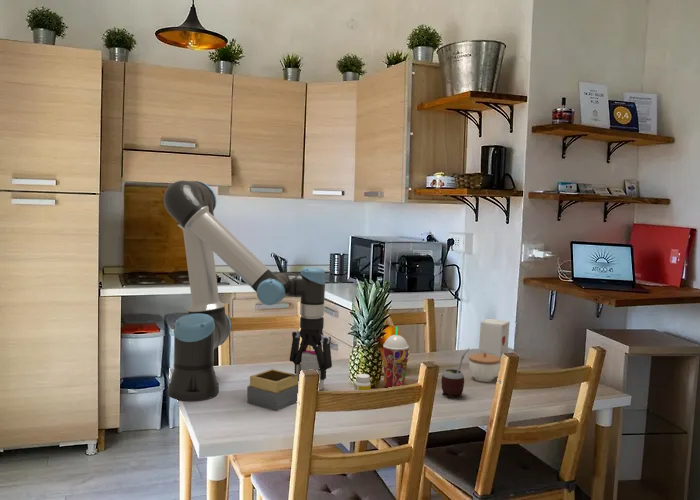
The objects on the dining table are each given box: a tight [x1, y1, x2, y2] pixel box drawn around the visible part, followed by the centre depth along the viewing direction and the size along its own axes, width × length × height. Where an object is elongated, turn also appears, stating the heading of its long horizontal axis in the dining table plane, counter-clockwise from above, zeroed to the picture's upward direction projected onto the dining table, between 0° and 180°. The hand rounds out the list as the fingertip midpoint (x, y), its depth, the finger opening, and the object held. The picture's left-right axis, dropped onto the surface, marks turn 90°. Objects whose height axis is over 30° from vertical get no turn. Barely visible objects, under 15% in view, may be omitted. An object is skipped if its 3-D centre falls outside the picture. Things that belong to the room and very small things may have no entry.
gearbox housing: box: [246, 368, 298, 412], centre depth 186 cm, size 11×11×8 cm
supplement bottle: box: [354, 373, 372, 391], centre depth 189 cm, size 5×5×8 cm
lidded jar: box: [468, 352, 501, 383], centre depth 218 cm, size 11×11×9 cm
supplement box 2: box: [478, 318, 510, 359], centre depth 246 cm, size 9×9×15 cm
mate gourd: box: [440, 347, 470, 400], centre depth 198 cm, size 8×8×15 cm
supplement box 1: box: [300, 349, 320, 371], centre depth 201 cm, size 6×6×12 cm
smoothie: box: [382, 326, 410, 388], centre depth 205 cm, size 8×8×20 cm
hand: (309, 386), depth 202 cm, fingers closed on supplement box 1, 8 cm apart
